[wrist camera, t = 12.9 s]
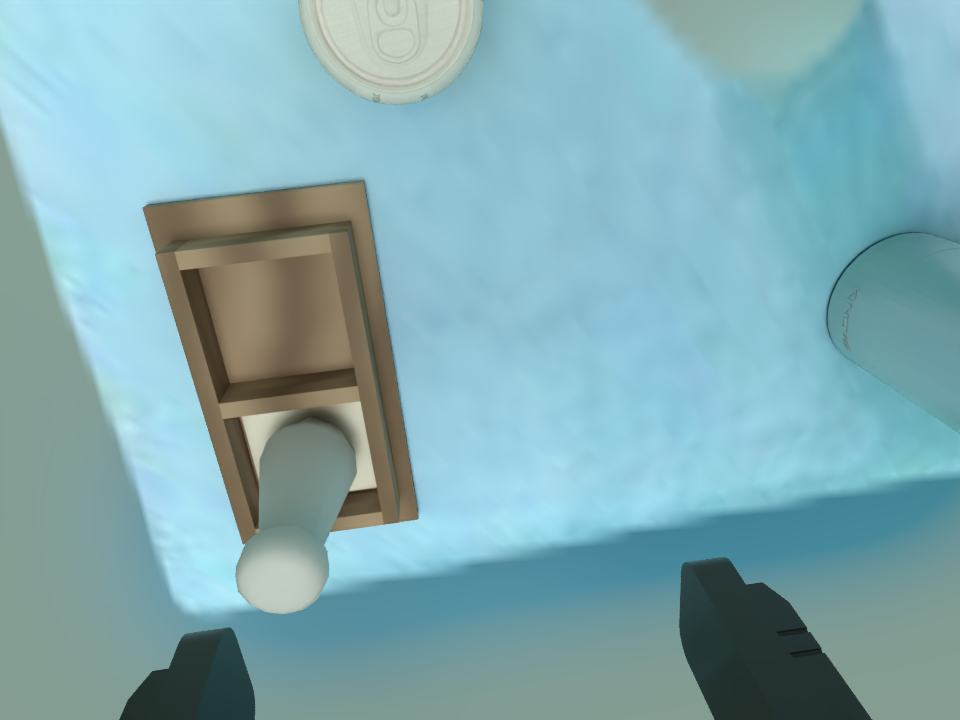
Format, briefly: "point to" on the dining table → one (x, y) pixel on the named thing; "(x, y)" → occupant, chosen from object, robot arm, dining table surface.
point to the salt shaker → (296, 515)
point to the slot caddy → (287, 336)
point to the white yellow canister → (392, 44)
